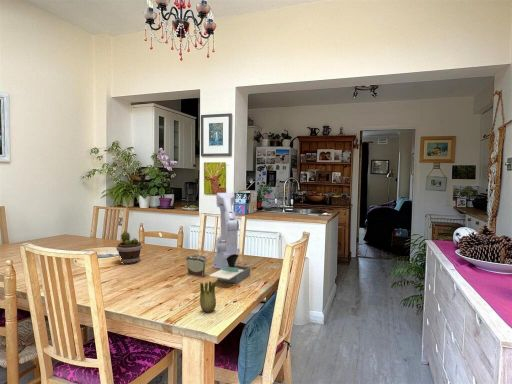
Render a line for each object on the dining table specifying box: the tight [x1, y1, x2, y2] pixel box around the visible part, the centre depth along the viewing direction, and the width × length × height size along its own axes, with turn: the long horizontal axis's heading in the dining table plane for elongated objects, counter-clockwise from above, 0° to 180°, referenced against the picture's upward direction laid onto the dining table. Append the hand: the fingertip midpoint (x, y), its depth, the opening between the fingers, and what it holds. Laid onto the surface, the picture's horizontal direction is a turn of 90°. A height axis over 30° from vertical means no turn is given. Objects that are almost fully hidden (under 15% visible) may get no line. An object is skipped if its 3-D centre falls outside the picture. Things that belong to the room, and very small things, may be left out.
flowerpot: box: [115, 230, 143, 265], centre depth 197 cm, size 14×15×20 cm
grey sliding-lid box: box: [217, 264, 251, 285], centre depth 171 cm, size 11×16×4 cm
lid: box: [209, 266, 244, 280], centre depth 163 cm, size 11×16×2 cm
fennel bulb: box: [199, 280, 217, 313], centre depth 129 cm, size 6×5×12 cm
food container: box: [185, 254, 207, 278], centre depth 175 cm, size 12×6×10 cm, turn 65°
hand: (231, 268), depth 168 cm, fingers closed
